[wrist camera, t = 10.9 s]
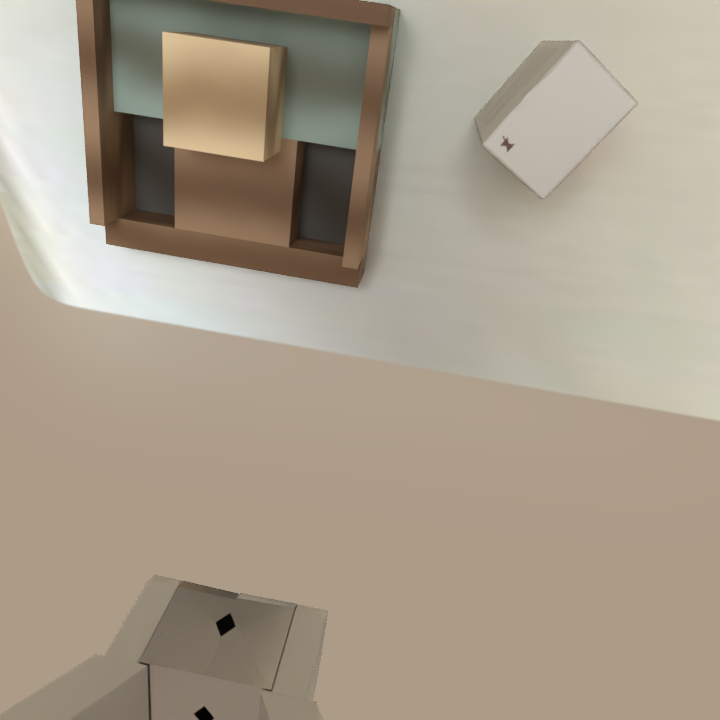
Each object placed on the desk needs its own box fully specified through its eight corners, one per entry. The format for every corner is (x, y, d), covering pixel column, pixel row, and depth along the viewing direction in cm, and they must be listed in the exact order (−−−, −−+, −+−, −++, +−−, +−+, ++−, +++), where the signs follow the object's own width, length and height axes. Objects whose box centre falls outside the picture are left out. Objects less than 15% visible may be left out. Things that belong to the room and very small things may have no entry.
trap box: (115, -32, 40) (53, -44, 34) (400, 9, 39) (388, 4, 33) (125, 232, 48) (76, 261, 42) (363, 273, 47) (348, 309, 41)
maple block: (189, 32, 39) (162, 31, 35) (287, 46, 38) (269, 47, 35) (188, 136, 41) (163, 145, 38) (280, 150, 41) (263, 161, 38)
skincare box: (520, 163, 42) (540, 205, 32) (472, 117, 41) (477, 145, 31) (593, 86, 40) (642, 104, 29) (544, 36, 39) (576, 35, 28)
